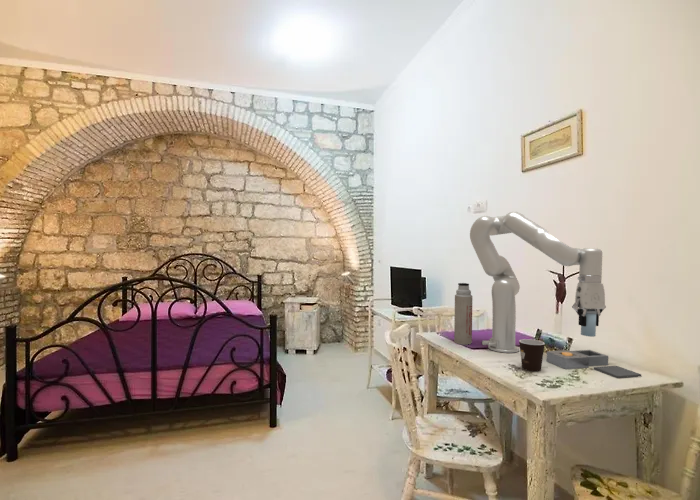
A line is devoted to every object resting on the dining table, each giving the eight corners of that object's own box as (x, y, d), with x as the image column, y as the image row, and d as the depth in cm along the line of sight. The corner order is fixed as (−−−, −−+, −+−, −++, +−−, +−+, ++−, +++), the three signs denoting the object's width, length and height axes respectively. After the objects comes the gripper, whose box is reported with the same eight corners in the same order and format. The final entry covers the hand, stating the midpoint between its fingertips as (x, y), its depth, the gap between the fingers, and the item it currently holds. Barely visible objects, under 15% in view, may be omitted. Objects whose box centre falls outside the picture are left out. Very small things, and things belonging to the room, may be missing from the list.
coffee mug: (545, 373, 138) (546, 346, 138) (519, 370, 141) (519, 343, 141) (541, 364, 149) (542, 338, 149) (517, 362, 152) (518, 336, 152)
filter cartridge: (587, 336, 150) (588, 311, 150) (577, 333, 155) (578, 308, 155) (599, 336, 151) (600, 311, 151) (588, 333, 156) (589, 308, 156)
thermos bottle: (475, 343, 180) (476, 283, 180) (462, 345, 177) (463, 284, 176) (463, 339, 187) (463, 282, 187) (450, 341, 184) (451, 282, 183)
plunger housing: (565, 369, 144) (565, 358, 144) (546, 361, 153) (546, 351, 153) (588, 367, 146) (588, 357, 146) (568, 359, 156) (568, 350, 155)
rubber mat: (617, 378, 134) (617, 376, 134) (593, 369, 144) (593, 367, 144) (641, 376, 136) (641, 374, 136) (616, 367, 146) (616, 365, 146)
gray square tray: (588, 366, 148) (588, 357, 148) (570, 359, 156) (570, 350, 156) (608, 364, 149) (608, 355, 149) (589, 358, 158) (589, 349, 158)
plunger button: (566, 363, 147) (566, 354, 147) (559, 361, 151) (559, 352, 151) (574, 363, 148) (574, 354, 148) (567, 360, 152) (567, 351, 152)
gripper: (579, 280, 147) (577, 328, 147) (616, 280, 151) (614, 327, 151) (564, 278, 154) (562, 323, 155) (600, 278, 158) (598, 323, 158)
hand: (588, 325), depth 153 cm, fingers closed on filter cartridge, 5 cm apart
